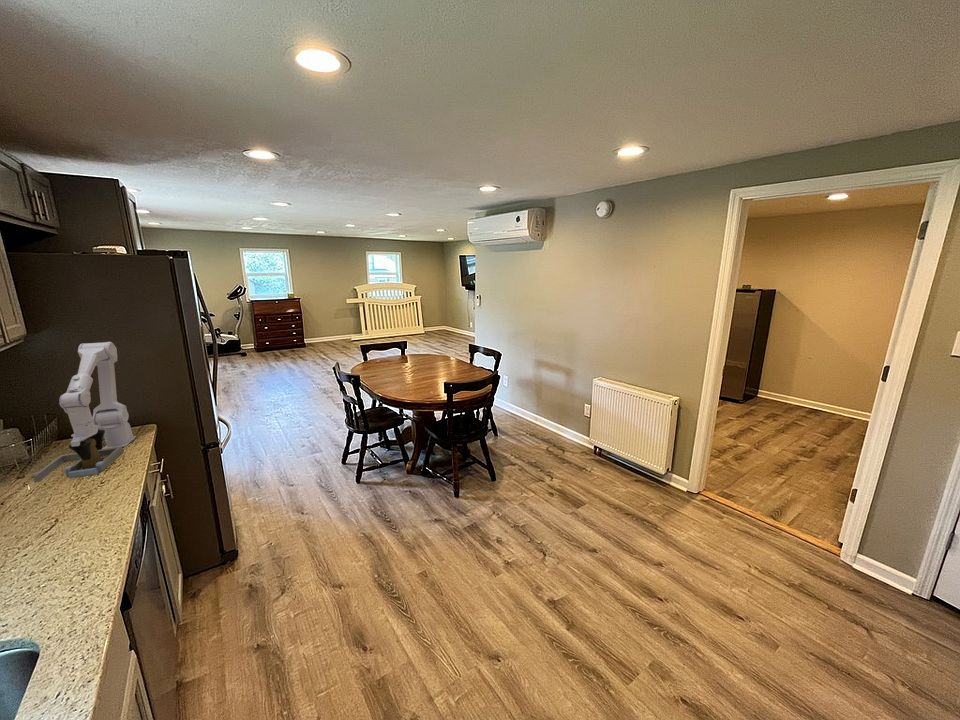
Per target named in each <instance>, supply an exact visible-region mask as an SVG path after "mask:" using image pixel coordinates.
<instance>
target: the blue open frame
mask: <svg viewBox="0 0 960 720" xmlns="http://www.w3.org/2000/svg"><path fill="white" fill-rule="evenodd" d="M98 452H99V454H100V456H101V457H105V458H104V459H103V461H101V462H98V463H97V464H95V465H96V466H97V468H90V469H84V470H83V469H82V462H81V457H80V456H79V455H78V454H77V453H76V452H72V453H67V454H66V453H65V454H60V455H58V456H57V457H56V458H55V459H53V460H52V461H50V462H49V463H48V464H47V465H45V466H44V467H43V468H41V469H39V470H38V471H37V472H36V473H34V474H33V475H32V477H33V481H34V482H35V483H37V482H40V481H42V480H43V479H44V478H45V477H47V476H48V475H49V474H51V473H52V472H53V471H55V470H56V469H57V468H58V467H60V466H59V465H62V464H63V463H64V461H65V462H70V461H72V462H73V461H76V462H75V463H73V464H72V465H67V466H65V467H64V469H63V471H64V472H65V475H66V477H68V478H69V479H73V478H78V477H85V476H91V475H97V474H99V473H101V472H102V473H103V472H104V471H105V470H106V469H107V468H108V467H109V466H110V465H111V464H112V463H114V462H115V460H117V458H119V457H120V456H121V455H122V454H123V453H124V450H123V447H115V448H108V449H101V450H98ZM106 456H107V457H106ZM55 468H56V469H55ZM50 472H51V473H50Z"/></svg>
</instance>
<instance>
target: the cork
mask: <svg viewBox="0 0 960 720" xmlns="http://www.w3.org/2000/svg"><path fill="white" fill-rule="evenodd" d="M84 442H85V443H87V442H91V445H90V453H91V459H89V460H82V459H81V462H82V468H81V470H84V469H90V468H97V466H96V465H95V464H97V463H98V462H101V461H103V460H104V459H103V458H102V456H100V454H99V452H98V450H97V448H96V447H95V445H96V441H95V439H93V438H87V439H85V440H84Z"/></svg>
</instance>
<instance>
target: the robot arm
mask: <svg viewBox="0 0 960 720" xmlns="http://www.w3.org/2000/svg"><path fill="white" fill-rule="evenodd" d="M117 350H118V349H117V347H116V346H115V344H114V343H113V342H112V341H105V342H104V341H103V342H91V343H89V342H87V343H80V344H79V346H78V348H77V354H78V356H79V358H80V362H79V366H78V370H77V373H76V374H75V375H73V376H71V379H70V381H69V385H68V387H67V390H66V392H65V393H63V394H61V395H60V397H59V406H60V407H61V409H63V410H64V413H66V414H67V416H68V419H69V422H70V425H71V428H72V431H73V433H72V434H71V435H70V436H71V438H72V440H71V441H70V444H69V445H68V448H69V449H70V450H72V451H73V452H74V453H77V454H78V455H79V456H80V457H81V459H82V460H89V459H91V453H90V445H91V442H87V443H85V442H84V440H85V439H87V438H93V439H95V441H96V445H95V447H96V448H97V450H101V449H108V448H115V447H122V448H125V447H127V446H128V445H129V444H130V443H132V441H134V439H135V438H136V437H137V436H136V435H134V434H133V430H132V428H131V425H130V423H129V422H128V421H129V416H130V415H129V411H128V409H127V405H125V404H123V403H120V402H119V401H118V399H117V398H118V396H117V384H116V382H117V381H116V371H115V363H117V362H118V351H117ZM96 366H97V367H96ZM95 367H96V368H97V375H98V378H97V379H98V389H99V390H98V391H99V398H100V399H99V401H100V403H99V404H98V405H97V406H96V407H95V408H94V409H93V413H91V409H90V406H89V405H90V403H91V399H92V398H91V391H90V390H91V387H92V384H93V383H94V379H93V377H92V374H93V372H94V370H95ZM103 440H104V441H105V446H103Z"/></svg>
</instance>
